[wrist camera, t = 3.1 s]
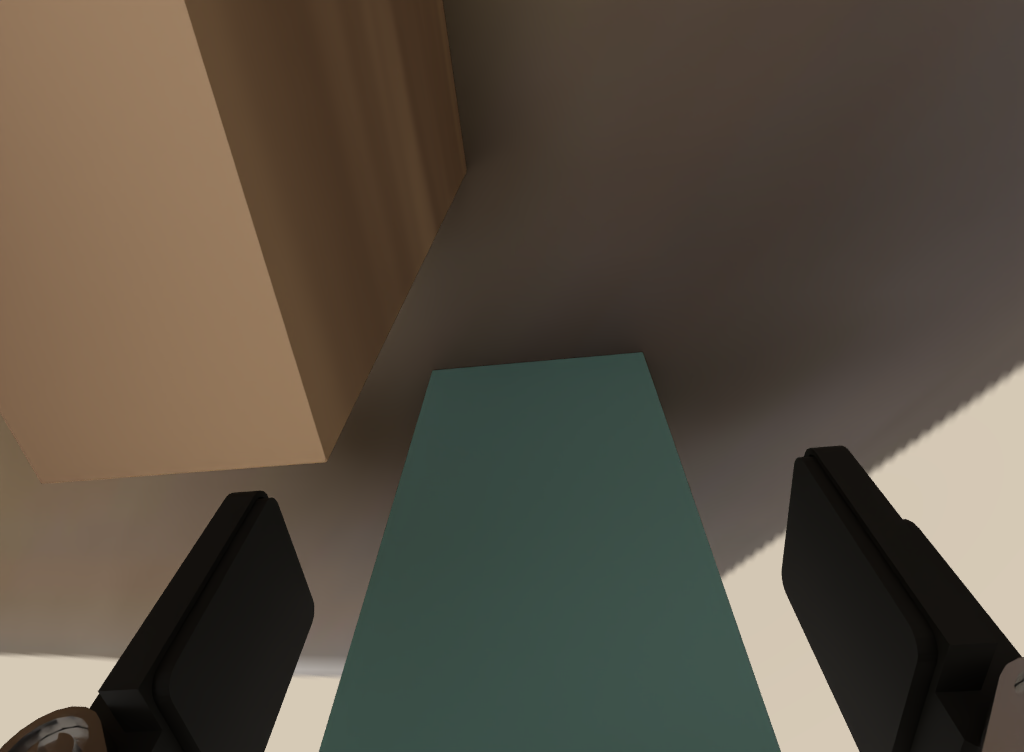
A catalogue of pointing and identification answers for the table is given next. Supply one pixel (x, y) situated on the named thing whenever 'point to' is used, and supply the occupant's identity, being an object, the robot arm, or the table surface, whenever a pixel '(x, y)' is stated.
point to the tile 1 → (210, 222)
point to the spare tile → (546, 580)
